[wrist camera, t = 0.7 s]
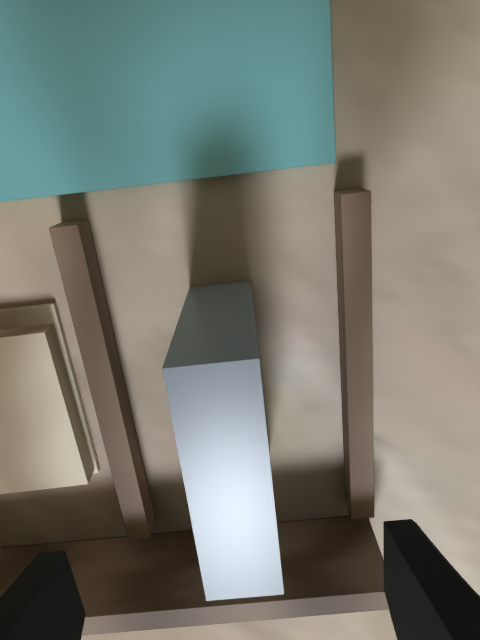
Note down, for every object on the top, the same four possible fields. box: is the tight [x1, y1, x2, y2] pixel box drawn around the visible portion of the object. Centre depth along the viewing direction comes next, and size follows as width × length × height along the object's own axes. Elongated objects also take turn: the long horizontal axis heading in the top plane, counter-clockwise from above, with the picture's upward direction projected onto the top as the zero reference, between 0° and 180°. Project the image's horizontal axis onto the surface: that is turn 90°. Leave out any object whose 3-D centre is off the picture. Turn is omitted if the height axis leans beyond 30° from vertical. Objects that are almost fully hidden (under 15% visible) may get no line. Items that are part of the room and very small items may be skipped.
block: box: [162, 281, 284, 601], centre depth 16 cm, size 2×8×7 cm, turn 6°
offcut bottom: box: [0, 302, 100, 473], centre depth 20 cm, size 5×8×1 cm, turn 6°
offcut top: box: [0, 323, 94, 494], centre depth 19 cm, size 4×7×1 cm, turn 7°
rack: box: [0, 188, 389, 635], centre depth 18 cm, size 19×16×4 cm
